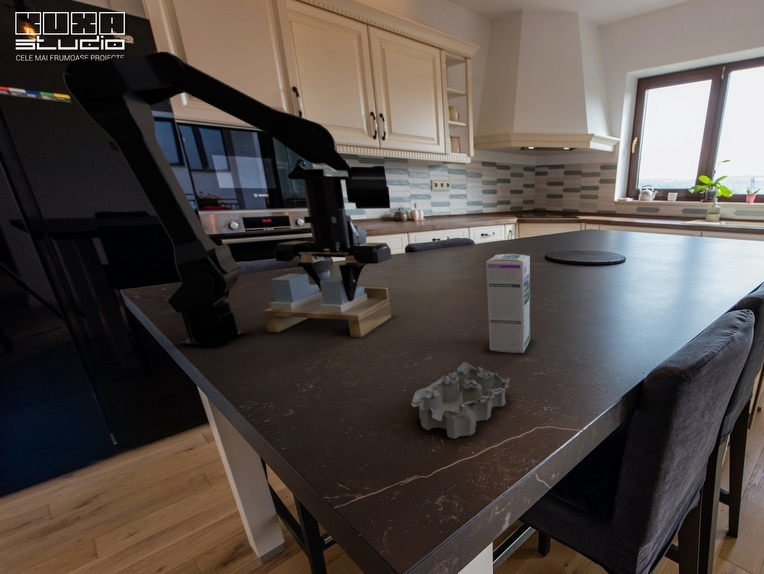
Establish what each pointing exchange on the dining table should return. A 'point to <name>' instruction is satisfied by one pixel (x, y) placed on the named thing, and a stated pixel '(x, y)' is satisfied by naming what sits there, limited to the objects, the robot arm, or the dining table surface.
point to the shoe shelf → (358, 316)
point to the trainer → (338, 295)
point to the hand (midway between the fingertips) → (341, 300)
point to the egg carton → (460, 400)
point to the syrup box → (508, 302)
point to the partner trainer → (293, 292)
